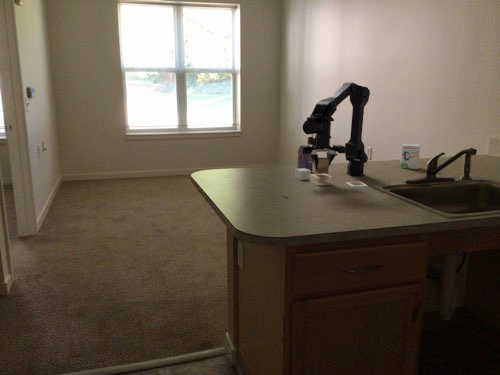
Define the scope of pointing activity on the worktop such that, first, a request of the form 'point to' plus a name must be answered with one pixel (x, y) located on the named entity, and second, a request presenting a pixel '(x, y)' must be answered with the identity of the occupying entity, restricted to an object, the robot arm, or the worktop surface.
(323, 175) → the beech base
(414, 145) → the ink box
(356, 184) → the swatch
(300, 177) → the sage block
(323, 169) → the walnut block
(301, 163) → the beverage can
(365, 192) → the worktop surface
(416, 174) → the worktop surface
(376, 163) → the worktop surface
